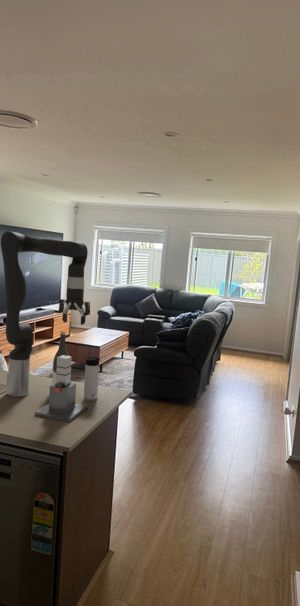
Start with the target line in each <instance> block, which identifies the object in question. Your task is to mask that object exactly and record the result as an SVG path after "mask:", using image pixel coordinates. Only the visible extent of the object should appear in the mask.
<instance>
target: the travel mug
mask: <svg viewBox="0 0 300 606" xmlns="http://www.w3.org/2000/svg"><path fill="white" fill-rule="evenodd" d="M100 360H101V357H97V356H96V357H95V356H91V357H87V358H85V366H84V367H85V368H84V384H83V385H84V387H83V389H84V390H83V400H84V401H87V402H94V401H95V402H96V401H97V400H98V388H99V374H100V372H99V371H100Z"/></svg>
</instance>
